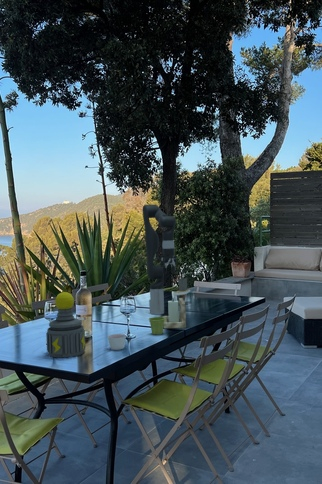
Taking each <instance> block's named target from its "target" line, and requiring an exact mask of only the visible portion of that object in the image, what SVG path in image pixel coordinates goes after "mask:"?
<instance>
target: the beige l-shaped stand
mask: <svg viewBox="0 0 322 484" xmlns="http://www.w3.org/2000/svg"><path fill="white" fill-rule="evenodd" d="M178 308H179V322H169V315H163V316H162V317H164V318H165V320H164V326H163V329H184V328H187V317H186V314H187V313H186V312H187V311H186V301H185V302H184V300H183V298H179V306H178Z"/></svg>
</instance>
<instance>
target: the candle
mask: <svg viewBox="0 0 322 484" xmlns="http://www.w3.org/2000/svg"><path fill="white" fill-rule="evenodd" d="M126 336H127V335H126V334H124V333H114V334H109V335H107V339H108V344H109V348H110V350H113V351H119V350H123V349H125V343H126Z"/></svg>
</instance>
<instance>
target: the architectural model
mask: <svg viewBox="0 0 322 484" xmlns="http://www.w3.org/2000/svg"><path fill="white" fill-rule="evenodd" d="M190 292H191V289H190V288H188V278H187V277H185V278H183V277H181V278H178V290H176V291H174V292H173V296H176V301H178V307H179V298H183V300H184V302H185V303H186V297H187V294H188V293H190Z"/></svg>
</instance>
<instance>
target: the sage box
mask: <svg viewBox="0 0 322 484" xmlns="http://www.w3.org/2000/svg"><path fill="white" fill-rule="evenodd" d="M171 298H172V297H171ZM167 303H168V304H167V305H168V306H167V307H168V308H167V309H168V310H167V311H168V316H169V321H168V323H169V322H180V321H179V315H180V308H179V306H178V301H177V300H175V298H172V299H171V300H168V301H167Z"/></svg>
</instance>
